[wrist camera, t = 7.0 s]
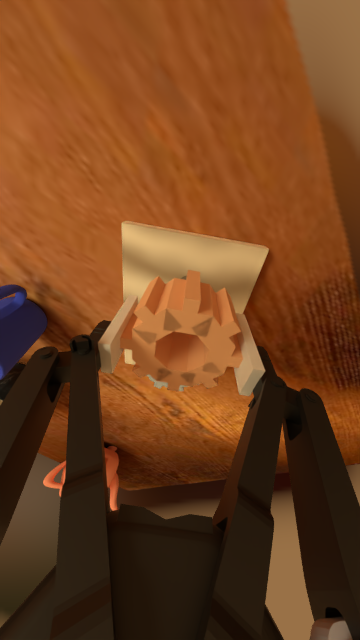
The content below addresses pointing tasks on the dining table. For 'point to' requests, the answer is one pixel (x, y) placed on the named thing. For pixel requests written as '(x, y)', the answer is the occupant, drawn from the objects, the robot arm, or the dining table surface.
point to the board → (188, 262)
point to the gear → (183, 333)
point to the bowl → (10, 380)
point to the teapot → (112, 476)
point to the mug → (17, 326)
